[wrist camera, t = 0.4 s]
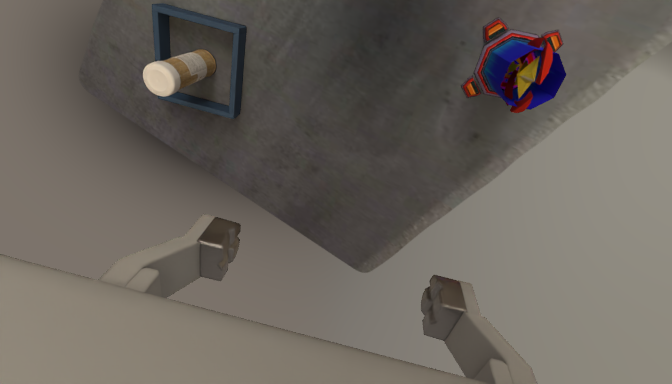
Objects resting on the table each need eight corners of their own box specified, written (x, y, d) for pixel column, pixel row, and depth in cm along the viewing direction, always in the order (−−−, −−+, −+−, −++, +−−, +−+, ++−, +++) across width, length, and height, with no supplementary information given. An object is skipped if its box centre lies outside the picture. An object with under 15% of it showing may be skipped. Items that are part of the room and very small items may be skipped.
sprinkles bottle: (201, 80, 58) (155, 102, 47) (186, 54, 56) (134, 70, 45) (222, 70, 57) (180, 90, 45) (207, 43, 55) (159, 57, 43)
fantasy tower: (529, 111, 53) (561, 139, 43) (457, 95, 54) (472, 120, 43) (569, 32, 47) (618, 43, 37) (487, 14, 47) (514, 21, 37)
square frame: (163, 3, 53) (151, 4, 50) (246, 26, 53) (239, 28, 50) (167, 93, 60) (157, 98, 58) (240, 113, 60) (233, 119, 58)
